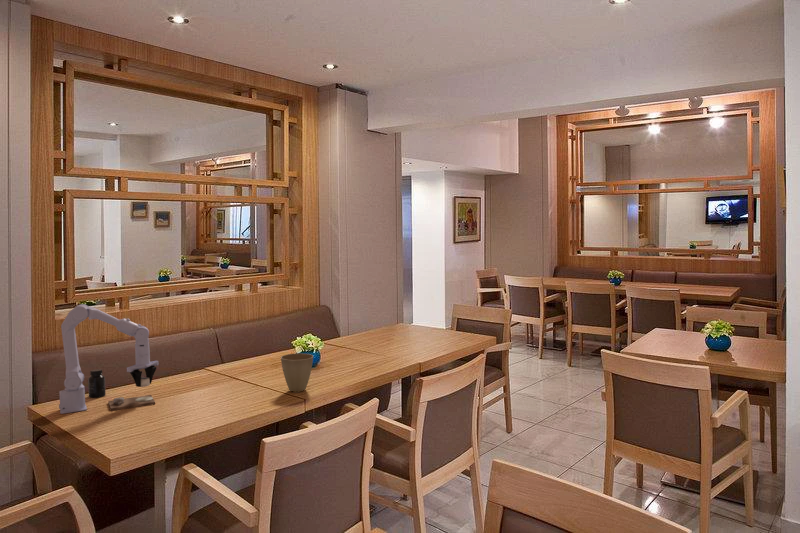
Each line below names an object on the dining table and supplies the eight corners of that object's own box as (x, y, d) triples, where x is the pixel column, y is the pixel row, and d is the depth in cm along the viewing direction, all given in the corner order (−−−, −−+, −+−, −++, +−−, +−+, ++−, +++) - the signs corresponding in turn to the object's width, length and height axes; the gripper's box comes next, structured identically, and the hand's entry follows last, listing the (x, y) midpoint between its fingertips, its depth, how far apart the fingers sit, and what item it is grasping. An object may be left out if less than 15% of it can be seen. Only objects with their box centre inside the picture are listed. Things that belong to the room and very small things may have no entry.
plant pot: (292, 396, 249) (291, 361, 248) (275, 390, 260) (274, 356, 259) (320, 390, 258) (319, 356, 258) (303, 384, 270) (302, 351, 269)
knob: (135, 386, 242) (134, 378, 242) (144, 383, 247) (144, 375, 247) (142, 387, 240) (142, 379, 240) (152, 384, 245) (151, 376, 245)
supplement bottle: (108, 396, 254) (107, 370, 253) (91, 399, 249) (90, 372, 248) (102, 393, 259) (101, 367, 258) (86, 396, 254) (85, 370, 253)
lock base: (111, 410, 231) (110, 403, 231) (108, 403, 242) (108, 396, 242) (155, 404, 240) (154, 397, 240) (150, 396, 251) (150, 390, 251)
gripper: (133, 358, 235) (135, 390, 235) (162, 351, 247) (164, 382, 248) (122, 356, 238) (124, 388, 239) (152, 350, 251) (153, 380, 251)
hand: (143, 384), depth 244 cm, fingers closed on knob, 5 cm apart
